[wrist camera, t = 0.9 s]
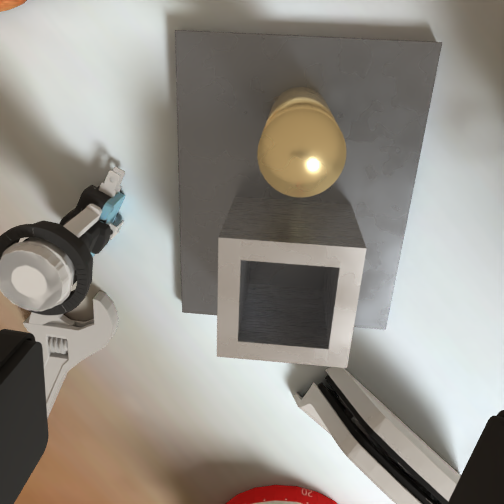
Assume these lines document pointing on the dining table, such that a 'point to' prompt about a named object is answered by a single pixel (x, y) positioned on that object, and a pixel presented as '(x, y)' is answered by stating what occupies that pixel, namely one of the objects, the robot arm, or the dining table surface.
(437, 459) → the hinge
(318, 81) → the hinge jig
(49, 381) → the adjustable wrench
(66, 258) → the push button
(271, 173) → the brass pin
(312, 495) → the kitchen timer
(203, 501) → the dining table surface
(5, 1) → the bread slice
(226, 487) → the dining table surface
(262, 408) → the dining table surface
